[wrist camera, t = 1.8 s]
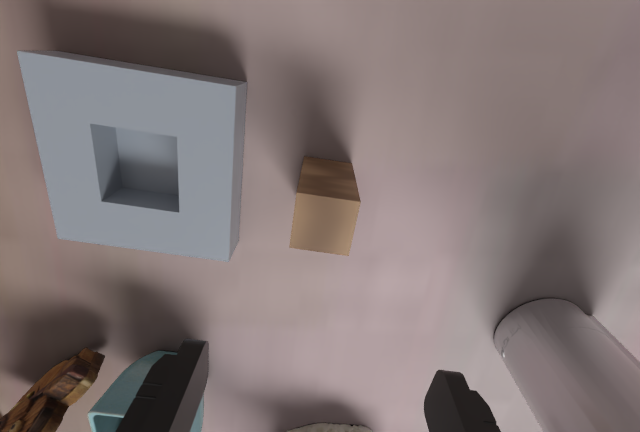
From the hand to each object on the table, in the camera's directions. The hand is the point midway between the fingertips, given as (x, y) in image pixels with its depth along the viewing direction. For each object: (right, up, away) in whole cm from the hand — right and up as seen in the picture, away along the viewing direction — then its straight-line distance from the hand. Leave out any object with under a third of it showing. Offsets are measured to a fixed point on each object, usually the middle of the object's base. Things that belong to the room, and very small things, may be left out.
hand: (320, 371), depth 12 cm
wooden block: (0, +8, +17) cm, 19 cm away
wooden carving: (-30, -13, +28) cm, 43 cm away
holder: (-14, +10, +16) cm, 24 cm away
